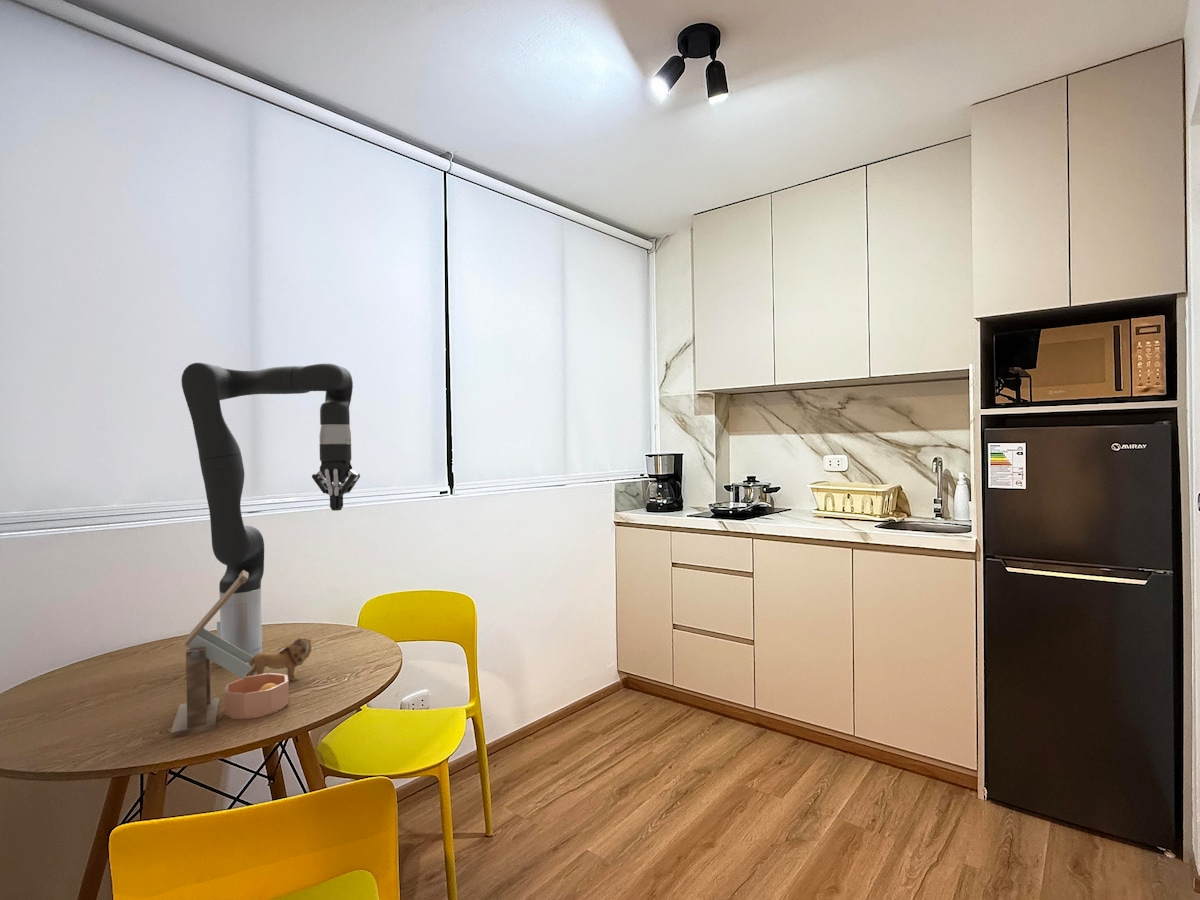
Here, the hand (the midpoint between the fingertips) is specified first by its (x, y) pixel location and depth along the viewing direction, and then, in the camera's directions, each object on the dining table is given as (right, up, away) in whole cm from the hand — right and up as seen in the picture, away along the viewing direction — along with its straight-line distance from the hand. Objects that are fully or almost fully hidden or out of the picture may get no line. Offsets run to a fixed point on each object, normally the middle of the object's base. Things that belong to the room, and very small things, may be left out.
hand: (336, 510), depth 163 cm
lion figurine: (-6, -37, -17) cm, 42 cm away
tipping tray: (-9, -25, -37) cm, 46 cm away
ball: (0, -35, -33) cm, 48 cm away
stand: (-11, -37, -38) cm, 55 cm away
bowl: (-2, -37, -34) cm, 50 cm away
